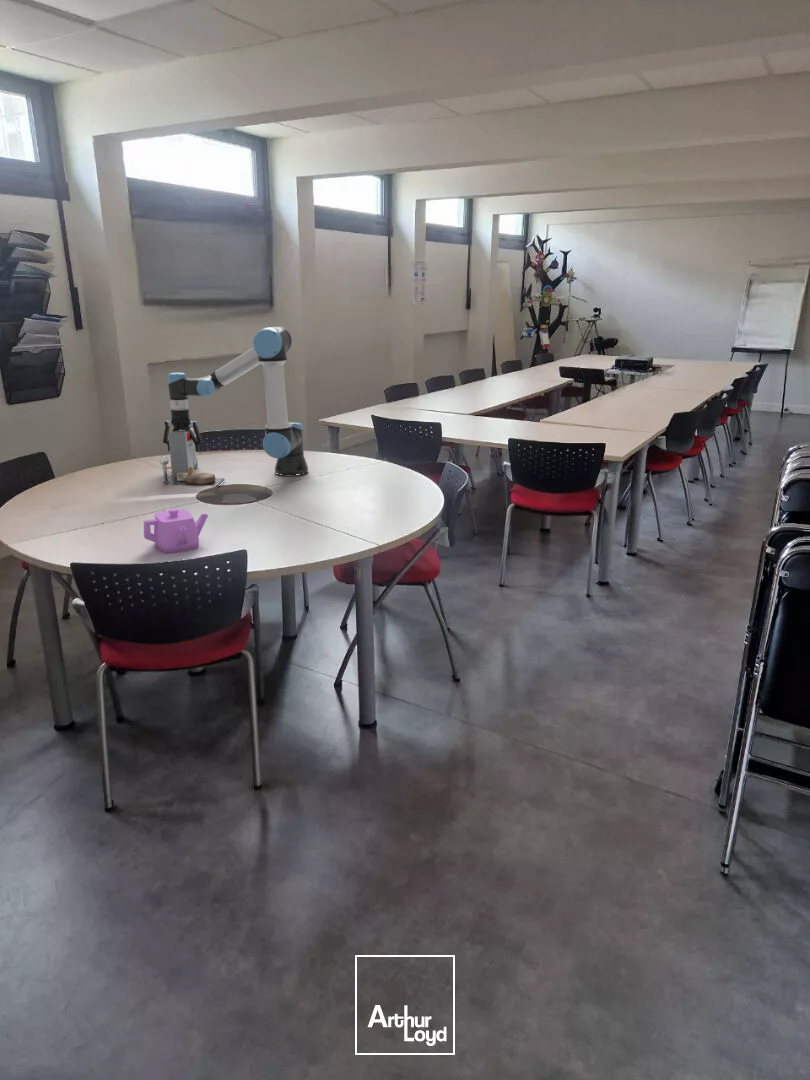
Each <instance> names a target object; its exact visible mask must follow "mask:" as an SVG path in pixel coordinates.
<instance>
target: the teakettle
mask: <svg viewBox="0 0 810 1080" xmlns="http://www.w3.org/2000/svg"><path fill="white" fill-rule="evenodd" d="M208 517H209V514H207V513H201V514H200V516H199V517H198V518H197V520H196V521H195V519H194V516H193V515H192V514H191V512H189V511H188V510H186V509H185V508H183V509H179V508H178V509H177V508H170V509H164V510H163V511H161V512H156V513H155V514H154V518H153V519H147V520H143V537H144V539H145V540H147V541H150V542H154V543H155V544H156V545H155V546H156V547H157V548H158V549H159V551H161V552H162V553H164V554H167V555H168V554H174V553H181V552H186V551H191V550H197V549H199V545H200V539H199V536H200V534H201V532H202V530H203V527H204V526H205V524H206V522H207V519H208ZM151 526H153V532H152V530H151V529H152V528H151Z"/></svg>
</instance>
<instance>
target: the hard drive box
mask: <svg viewBox="0 0 810 1080" xmlns="http://www.w3.org/2000/svg"><path fill="white" fill-rule="evenodd" d="M190 429H191V431H192V432H193V434H194V436H195V437H196V434H195V431H194V429H193V427H190ZM172 431H173V430H172ZM172 431H171V432H169V435H168V440H169V445H170V451H169V456H170V467H173V469H170V471H171V475H172V476H177V473H188V475H190V474H193V473H194V472H195V471H196V470H198V469H199V459H198V458H199V457H198V458H197V459H196V460H194V450H193V445H194V442H193V441H192V439H191V438H190V432H189V431H188V432H186V431H185V430H177V431H173V432H172ZM196 438H197V437H196Z"/></svg>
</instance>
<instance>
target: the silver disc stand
mask: <svg viewBox="0 0 810 1080" xmlns="http://www.w3.org/2000/svg"><path fill="white" fill-rule="evenodd" d="M159 463H160V465H162V469H163V470H162V471H163V479H162V482H163V483H166V482H169V478H168V469H170V470H171V469H173V467H171V466H167V465H168V464H169V458H168V457H167V456H160V458H159ZM163 483H162V484H163Z"/></svg>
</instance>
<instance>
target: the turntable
mask: <svg viewBox="0 0 810 1080" xmlns="http://www.w3.org/2000/svg"><path fill="white" fill-rule="evenodd" d="M176 477H177V481H186V482H187V483H189V484H208V483H212V482H214V481H215V478H216V475H215V474H214V473H211V472H196V473H195V472H193V473H191V474H190V475H188V473H177V475H176Z"/></svg>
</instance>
